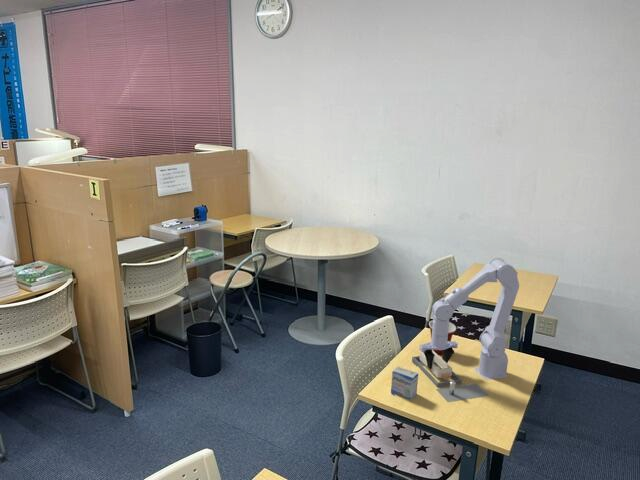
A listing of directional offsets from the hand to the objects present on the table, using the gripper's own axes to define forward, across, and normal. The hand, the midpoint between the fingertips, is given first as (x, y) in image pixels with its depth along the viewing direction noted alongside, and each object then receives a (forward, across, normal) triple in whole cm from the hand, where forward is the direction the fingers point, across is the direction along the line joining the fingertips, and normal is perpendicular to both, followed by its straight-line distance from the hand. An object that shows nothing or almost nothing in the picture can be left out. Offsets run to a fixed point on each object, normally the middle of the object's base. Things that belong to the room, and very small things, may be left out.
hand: (436, 366), depth 175 cm
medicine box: (+3, +18, +10) cm, 21 cm away
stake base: (+3, -2, +14) cm, 15 cm away
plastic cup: (+3, -10, -15) cm, 18 cm away
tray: (+3, 0, 0) cm, 3 cm away
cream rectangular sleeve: (+1, 0, -1) cm, 1 cm away
